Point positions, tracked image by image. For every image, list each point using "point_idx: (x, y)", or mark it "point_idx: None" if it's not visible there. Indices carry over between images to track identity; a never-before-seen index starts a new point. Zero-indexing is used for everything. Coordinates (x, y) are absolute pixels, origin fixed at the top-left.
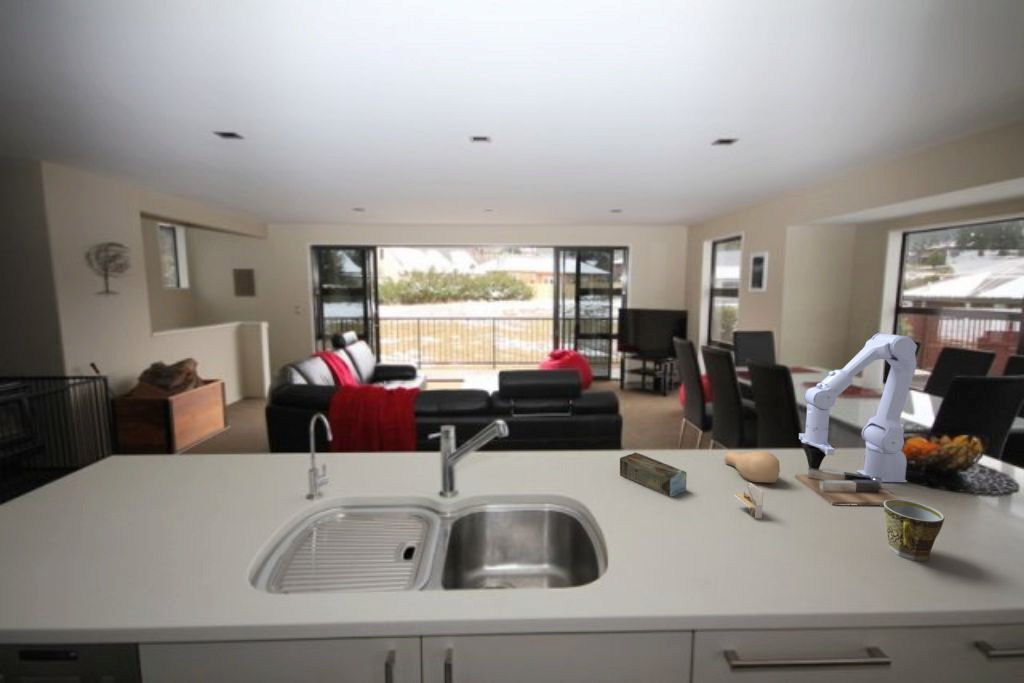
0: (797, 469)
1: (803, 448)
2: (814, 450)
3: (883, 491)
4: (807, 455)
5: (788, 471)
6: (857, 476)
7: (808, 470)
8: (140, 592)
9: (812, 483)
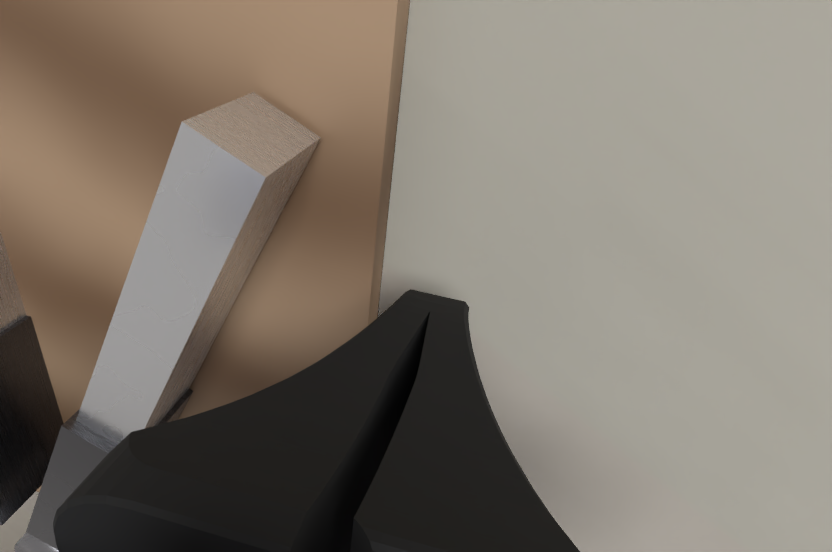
0: (671, 250)
1: (538, 528)
2: (58, 531)
3: None
4: (436, 413)
5: (649, 60)
6: (45, 479)
7: (190, 119)
8: None
9: (86, 17)
